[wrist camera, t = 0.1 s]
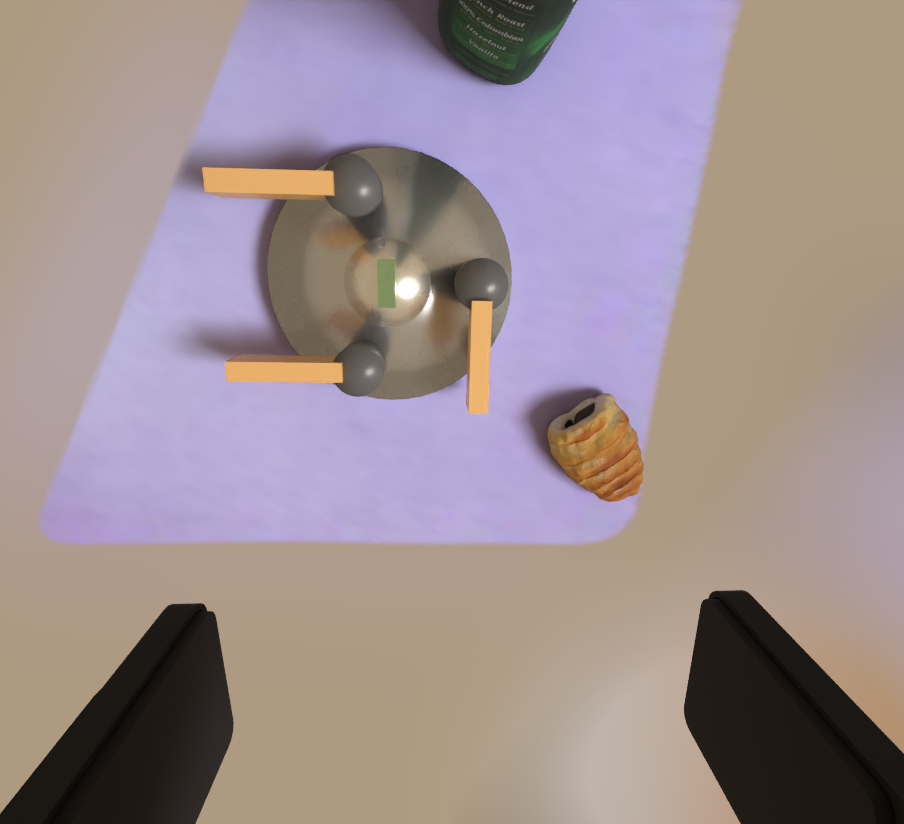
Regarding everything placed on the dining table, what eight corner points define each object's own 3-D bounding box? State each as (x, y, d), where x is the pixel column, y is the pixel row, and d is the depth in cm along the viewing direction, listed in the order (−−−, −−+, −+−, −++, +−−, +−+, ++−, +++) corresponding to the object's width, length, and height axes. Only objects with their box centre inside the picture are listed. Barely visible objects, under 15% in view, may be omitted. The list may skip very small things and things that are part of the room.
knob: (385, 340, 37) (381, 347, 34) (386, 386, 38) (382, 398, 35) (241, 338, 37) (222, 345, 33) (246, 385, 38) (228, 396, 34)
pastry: (655, 468, 43) (675, 487, 39) (589, 508, 44) (602, 531, 40) (602, 383, 40) (619, 395, 37) (534, 428, 41) (543, 444, 38)
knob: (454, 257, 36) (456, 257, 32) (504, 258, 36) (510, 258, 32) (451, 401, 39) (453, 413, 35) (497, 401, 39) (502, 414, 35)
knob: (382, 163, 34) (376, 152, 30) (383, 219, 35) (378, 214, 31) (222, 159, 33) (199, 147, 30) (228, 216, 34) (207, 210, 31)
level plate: (261, 147, 34) (236, 130, 30) (515, 154, 35) (527, 138, 31) (282, 394, 40) (263, 410, 35) (503, 396, 40) (511, 412, 36)
